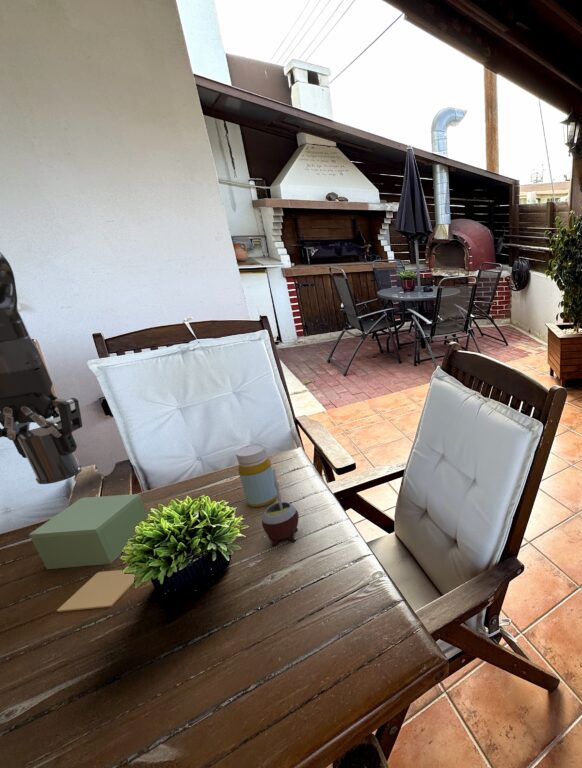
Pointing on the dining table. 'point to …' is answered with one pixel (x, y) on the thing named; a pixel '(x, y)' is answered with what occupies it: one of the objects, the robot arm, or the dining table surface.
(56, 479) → the holder
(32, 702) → the dining table surface
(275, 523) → the mate gourd
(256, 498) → the bottle
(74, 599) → the coaster
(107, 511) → the block
